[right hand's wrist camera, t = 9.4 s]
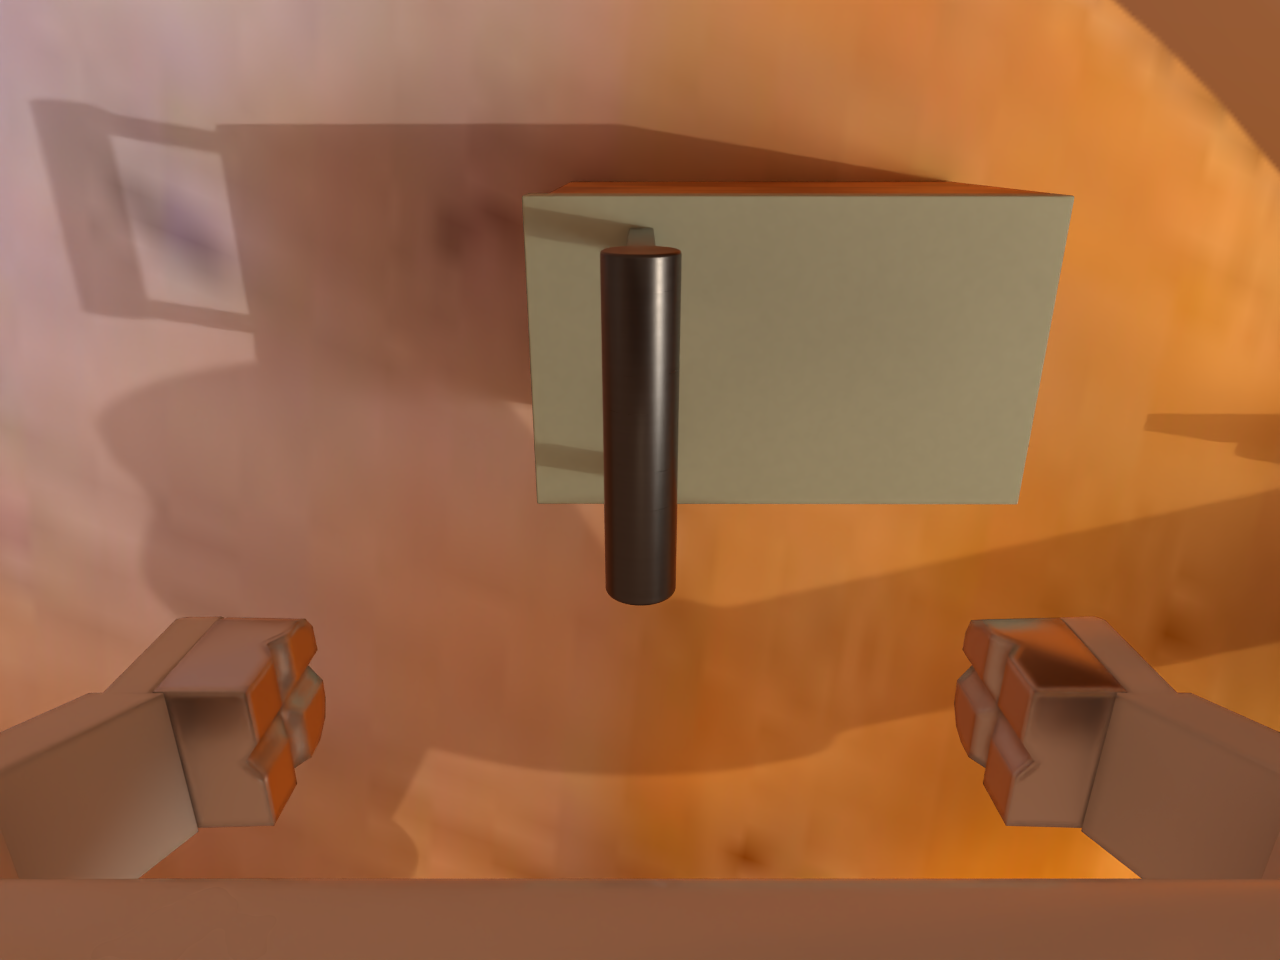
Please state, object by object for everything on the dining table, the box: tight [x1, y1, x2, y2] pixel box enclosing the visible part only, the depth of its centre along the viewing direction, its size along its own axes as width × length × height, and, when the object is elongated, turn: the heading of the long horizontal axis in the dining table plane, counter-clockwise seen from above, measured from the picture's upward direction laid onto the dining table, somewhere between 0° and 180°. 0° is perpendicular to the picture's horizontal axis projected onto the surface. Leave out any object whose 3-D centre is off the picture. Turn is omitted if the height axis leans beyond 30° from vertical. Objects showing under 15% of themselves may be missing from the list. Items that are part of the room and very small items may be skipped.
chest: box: [550, 182, 1050, 194], centre depth 30 cm, size 15×9×9 cm, turn 90°
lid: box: [522, 193, 1074, 605], centre depth 22 cm, size 16×9×9 cm, turn 90°
